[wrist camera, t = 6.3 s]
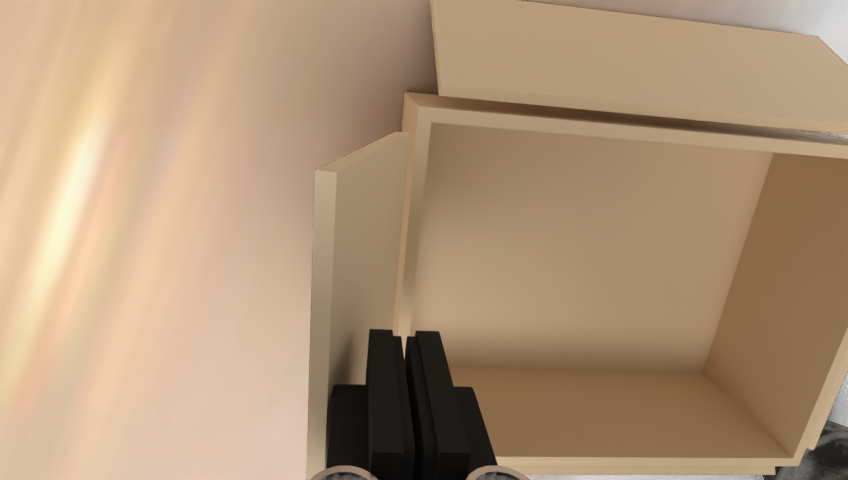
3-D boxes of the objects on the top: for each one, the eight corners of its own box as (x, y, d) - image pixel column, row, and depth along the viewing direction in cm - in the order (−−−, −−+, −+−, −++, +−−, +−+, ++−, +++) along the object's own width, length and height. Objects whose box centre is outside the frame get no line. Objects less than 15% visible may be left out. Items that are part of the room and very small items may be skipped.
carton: (888, 47, 22) (1083, 45, 16) (745, 432, 29) (845, 532, 23) (412, -10, 19) (431, -38, 13) (377, 427, 26) (379, 539, 20)
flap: (409, 133, 14) (336, 172, 9) (381, 458, 18) (317, 631, 13) (395, 131, 14) (314, 170, 9) (370, 455, 18) (302, 627, 13)
